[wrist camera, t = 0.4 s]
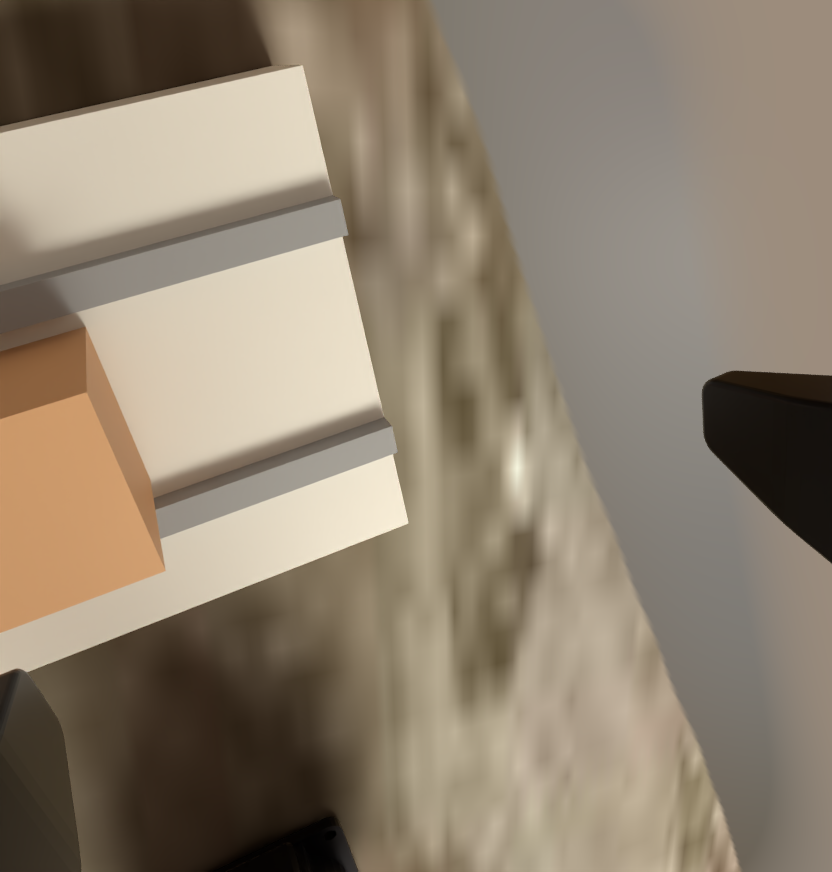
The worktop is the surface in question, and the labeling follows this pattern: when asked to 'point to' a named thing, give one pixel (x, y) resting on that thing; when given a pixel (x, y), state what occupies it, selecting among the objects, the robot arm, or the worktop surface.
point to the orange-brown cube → (68, 483)
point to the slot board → (202, 332)
